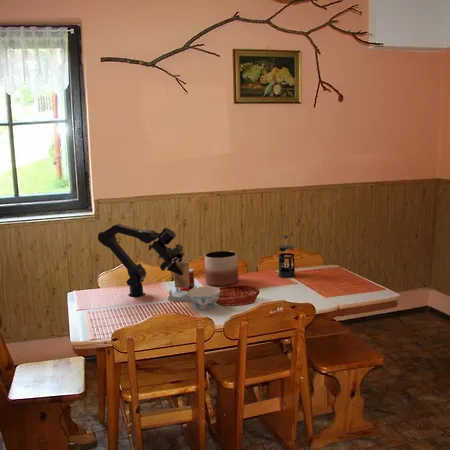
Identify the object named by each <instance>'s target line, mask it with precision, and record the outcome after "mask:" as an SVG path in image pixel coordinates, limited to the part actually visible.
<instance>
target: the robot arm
mask: <svg viewBox="0 0 450 450" xmlns="http://www.w3.org/2000/svg"><path fill="white" fill-rule="evenodd" d="M117 234H121V235H125V236H128V237H132V238H135V239H138V240H139V241H140V242H142V243H145V244H148V251H152V250H154V252H156V254H157V255H158V258H159V259H162V260H163V262H162V263H160V265H159V269H160V270H161V271H162V272H164V271H165V270H166V271H168V272H172V273H173V274H174V273H177V274H179V275H183V273H182V272H181V270H180V269H179V268H178V266H177V265H176V262H183V259H184V257H185V253H184V252H183V251H184V249H183V248H184V246H183V245H182V244H180V243H177V244H175V247H173V248H171V247H168V245H169V244H171V242H172V241H173V240H174V239H175V238H176V237H177V235H176V233H175V232H174V231H173V230H172V229H170V228H168V227H164V228H163V229H162V230H161V232H156V231H155V230H154V229H138V228H135V227H131V226H127V225H124V224H121V223H116V224H113V225H112V226H111V227H109V228H108V229H106V230H103V231H101V232H98V234H97V240H98V242H99V243H100V244H102V245H103V246H104V247H106V248H108V249H110V251H111V252H112V253H113V254H114V255H115V256H116V258H117V259H118V260H119V261H120V263H121V264H122V265H123V266H124V267H125V269H126V270H127V274H128V277H129V278H128V279H127V280H126V285H127V286H129V293H128V294H127V296H128V295H129V296H128V297H133V298H134V297H135V298H139V297H141V296H144V295H145V294H146V292H144V287H143V283H142V282H144V281H145V278H146V277H147V271H146V268H144V266H143V265H142V264H141V263H138V264H137V263H135V262H134V261H133V259H131V257H130V256H129V255H128V254H127V253H126V251H125V250H124V249H123V248H122V246H121V245H120V244H119V243H118V241H117V237H116V235H117ZM150 243H151V244H150ZM166 268H167V269H166Z"/></svg>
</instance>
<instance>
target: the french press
mask: <svg viewBox="0 0 450 450" xmlns="http://www.w3.org/2000/svg"><path fill="white" fill-rule="evenodd" d="M282 237H283V238H284V239H285V240H287V239H288V238H289V237H290V235H289V234H284V235H282ZM277 248H278V251H279V252H280V253H279V254H277V256H278V277H279V278H282V279H291V278H295V277H296V268H295V266H296V264H295V253H291V252H287V250H289V249H290V250H292V251H294V248H295V245H294V244H287V243H285V244H280V245H278V247H277Z"/></svg>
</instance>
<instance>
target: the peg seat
mask: <svg viewBox="0 0 450 450" xmlns="http://www.w3.org/2000/svg"><path fill="white" fill-rule="evenodd" d="M194 288H197V286H195V285H194ZM188 292H189V291H180V289H179V287H175V291H173V290H172V289H169V290H168V293H169V294H168V296H167V300H168V301H173V302H183V303H184V302H186V303H187V302H189V303H191V302H192V301H191V299H190V297H189V293H188Z"/></svg>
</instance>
